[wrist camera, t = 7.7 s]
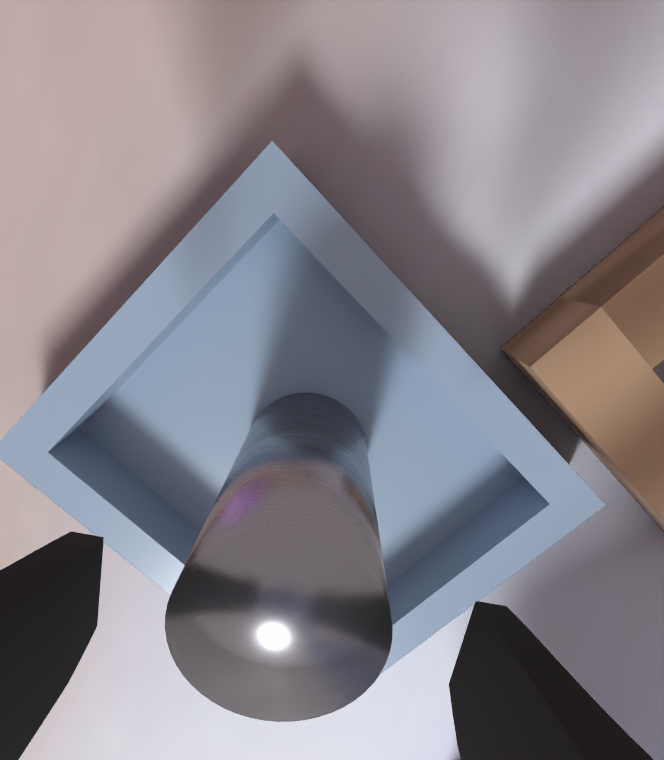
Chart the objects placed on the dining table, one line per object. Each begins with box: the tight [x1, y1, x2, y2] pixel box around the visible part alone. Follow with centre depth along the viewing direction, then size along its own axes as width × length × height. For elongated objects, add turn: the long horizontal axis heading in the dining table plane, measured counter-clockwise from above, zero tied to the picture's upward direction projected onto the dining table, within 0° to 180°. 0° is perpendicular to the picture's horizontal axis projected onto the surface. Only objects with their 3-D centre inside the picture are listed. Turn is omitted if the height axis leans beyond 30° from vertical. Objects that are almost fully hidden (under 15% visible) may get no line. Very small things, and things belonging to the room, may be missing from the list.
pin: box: [165, 393, 393, 722], centre depth 12 cm, size 4×4×8 cm
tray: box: [0, 141, 606, 717], centre depth 16 cm, size 14×12×2 cm
